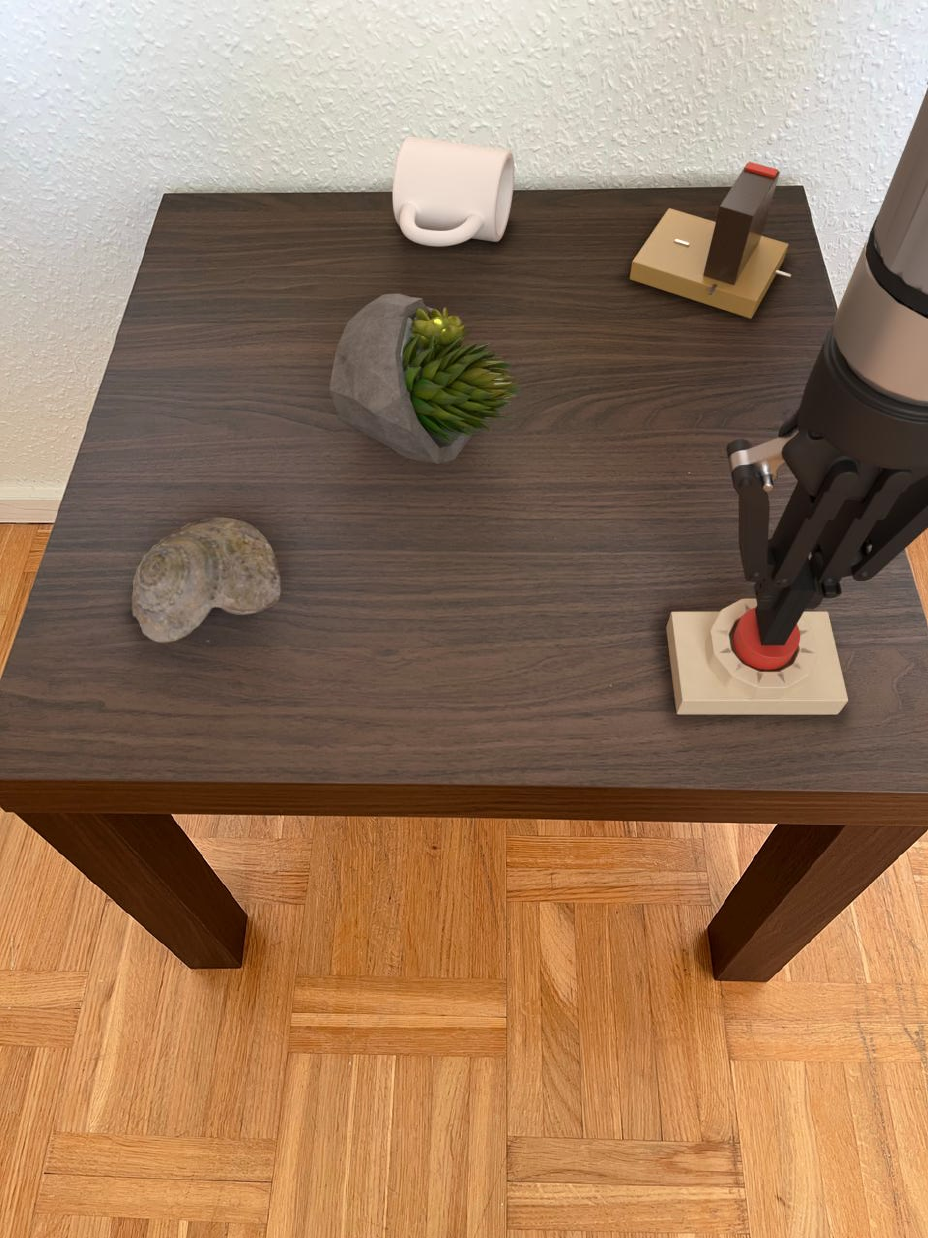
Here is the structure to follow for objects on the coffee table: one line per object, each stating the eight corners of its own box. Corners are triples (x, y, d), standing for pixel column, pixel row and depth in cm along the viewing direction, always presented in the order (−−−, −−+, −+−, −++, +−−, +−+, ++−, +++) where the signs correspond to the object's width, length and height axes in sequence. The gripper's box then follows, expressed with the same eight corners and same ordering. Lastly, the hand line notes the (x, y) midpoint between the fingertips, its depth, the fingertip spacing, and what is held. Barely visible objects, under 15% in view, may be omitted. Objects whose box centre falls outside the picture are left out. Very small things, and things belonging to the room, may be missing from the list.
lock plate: (803, 260, 87) (809, 240, 85) (764, 332, 82) (770, 312, 80) (669, 219, 91) (673, 199, 89) (624, 286, 86) (627, 266, 84)
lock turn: (734, 285, 82) (754, 213, 76) (702, 275, 83) (720, 203, 77) (759, 241, 85) (781, 168, 79) (729, 232, 86) (748, 159, 80)
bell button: (787, 618, 62) (794, 605, 61) (797, 670, 60) (805, 657, 59) (728, 619, 62) (734, 605, 61) (736, 670, 60) (743, 658, 59)
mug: (419, 195, 93) (414, 118, 87) (513, 209, 92) (516, 132, 85) (382, 269, 88) (374, 193, 81) (483, 286, 86) (483, 210, 79)
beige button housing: (818, 627, 66) (836, 597, 63) (837, 714, 62) (858, 688, 59) (665, 627, 66) (675, 597, 63) (676, 714, 63) (687, 688, 59)
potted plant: (396, 311, 79) (557, 313, 73) (383, 460, 81) (538, 475, 75) (314, 277, 69) (493, 276, 62) (300, 449, 71) (473, 465, 64)
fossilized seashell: (180, 506, 71) (173, 473, 64) (304, 567, 72) (310, 540, 65) (110, 626, 68) (96, 604, 61) (241, 687, 69) (241, 672, 62)
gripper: (1043, 289, 41) (857, 579, 61) (752, 291, 41) (663, 579, 62) (1101, 412, 37) (883, 678, 57) (780, 413, 37) (675, 678, 58)
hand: (769, 627), depth 59 cm, fingers closed
